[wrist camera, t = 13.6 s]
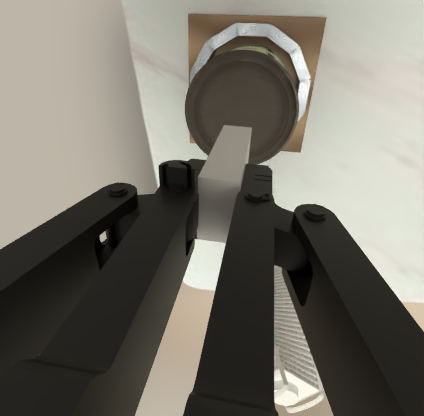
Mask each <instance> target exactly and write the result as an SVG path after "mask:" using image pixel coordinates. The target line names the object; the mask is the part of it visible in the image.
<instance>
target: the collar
mask: <svg viewBox="0 0 424 416" xmlns="http://www.w3.org/2000/svg"><path fill="white" fill-rule="evenodd" d="M238 36H266V37H268V38H269V39H271V40H272V41H273V42H275V43H276V44H277V45H279V46H280V47H281V48H283V49H284V50H285V51H287V52H288V53H289V55H290V57H291V60H292V63H293V65H294V68H295V71H296V74H297V76H298V82H297V88H296V89H297V93H298V99H299V116H298V121H299V120H300V118H301V117H302V116H303V115H304V112H305V109H306V104H307V99H308V93H309V88H310V83H311V77H310V74H309V71H308V68H307V66H306V63H305V60H304V57H303V54H302V51H301V49H300V46H299V45H298V44H297V43H296V42H294V41H293V40H292V39H290V38H289V37H288V36H286V35H285V34H284V33H282V32H281V31H280V30H278V29H277V28H276V27H275V26H273V25H271V26H270V24H259V23H235V24H233V25H231V26H230V27H228V28H227V29H225V30H223V31H222V32H220V33H219V34H217V35H215V36H214V37H212V38H211V39H209V40H208V41H206V42H205V44H204V46H203V48H202V50H201V52H200V54H199V55H198V57H197V59H196V61H195V63H194V65H193V67H192V69H191V71H190V72H191V73H190V84H191V81H192V80H193V78H194V76H195V75H196V73H197V72H198V71H199V70H200V68H201V67H202V66H203V65H205V64H206V63H207V62H208V61H209V60H211V59H212V57H213V56H214V54H215V52H216V50H217V49H218V48H220V47H221V46H223V45H225V44H226V43H228V42H230V41H231V40H233V39H235V38H236V37H238ZM298 121H297V122H298Z"/></svg>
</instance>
